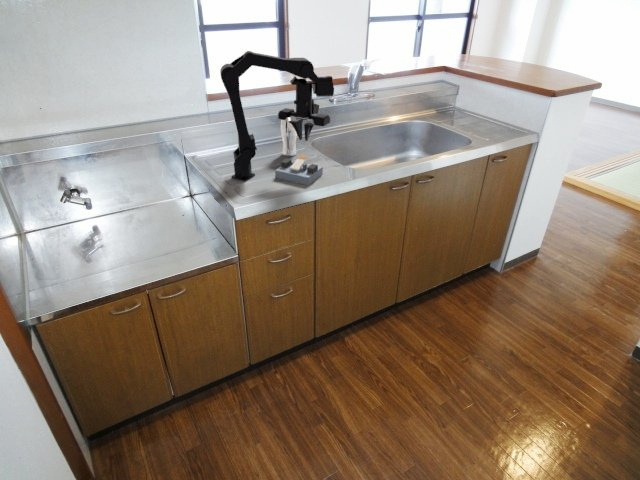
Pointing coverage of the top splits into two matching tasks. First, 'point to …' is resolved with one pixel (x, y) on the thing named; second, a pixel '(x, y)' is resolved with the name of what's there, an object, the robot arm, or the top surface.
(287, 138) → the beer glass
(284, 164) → the plug left
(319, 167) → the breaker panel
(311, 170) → the plug right
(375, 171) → the top surface
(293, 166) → the breaker paddle
